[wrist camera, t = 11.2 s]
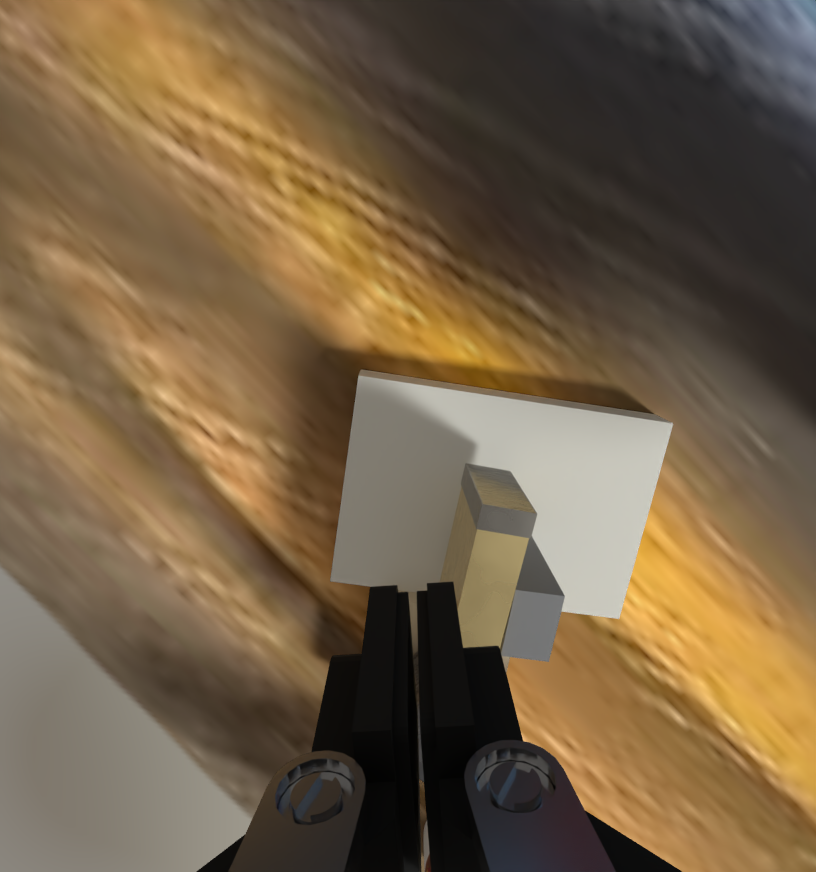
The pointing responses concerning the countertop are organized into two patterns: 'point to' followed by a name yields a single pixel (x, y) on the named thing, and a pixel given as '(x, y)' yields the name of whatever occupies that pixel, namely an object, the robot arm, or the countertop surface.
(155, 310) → the countertop surface
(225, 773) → the countertop surface
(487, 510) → the bar
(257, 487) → the countertop surface
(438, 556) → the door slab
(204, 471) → the countertop surface
